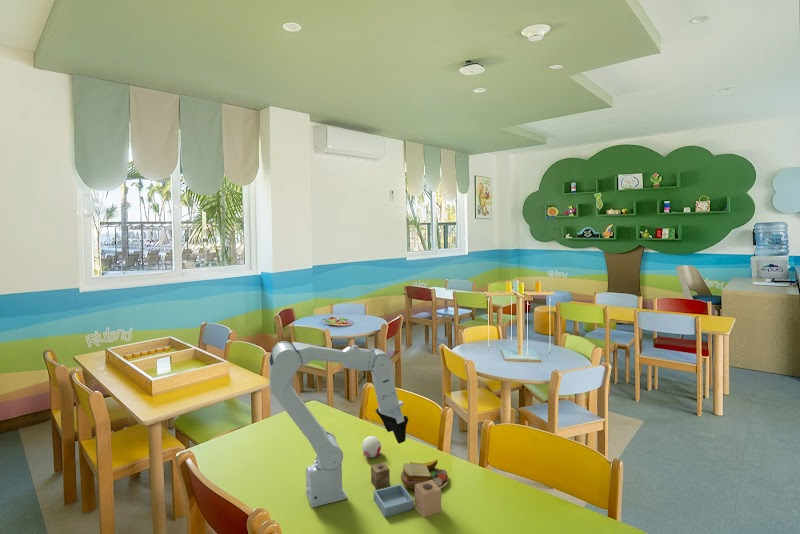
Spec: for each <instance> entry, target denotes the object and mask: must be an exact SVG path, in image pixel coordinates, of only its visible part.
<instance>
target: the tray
mask: <svg viewBox="0 0 800 534" xmlns="http://www.w3.org/2000/svg"><path fill="white" fill-rule="evenodd" d="M403 485H404V484H401V483H400V484H396V485H392V486H388V487H385V488H381V489H377V490H376V489H375V490H373V502H375V505H376V506H377V508H378V509H379V511H380V512H381V514H382V516H383V518H386V519H387V518H389V517H392V516H396V515H399V514H402V513H406V512H411V511H413V510H415V499H414V498H413V497H412V495H410V493H409V492H408V491H407V489H406V488H405V486H403Z"/></svg>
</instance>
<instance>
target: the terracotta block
mask: <svg viewBox="0 0 800 534" xmlns="http://www.w3.org/2000/svg"><path fill="white" fill-rule="evenodd" d="M414 508H416V510H417V511H418V513H419V514H420V515H421V516H422V517H423V518H426V517H431V516H433V515H436V514H439V513H442V489H440V488H439V487H438V486H437V485H436V484H435V483H434V481H433V480H429V481H425V482H421V483H418V484H415V490H414Z"/></svg>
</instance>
